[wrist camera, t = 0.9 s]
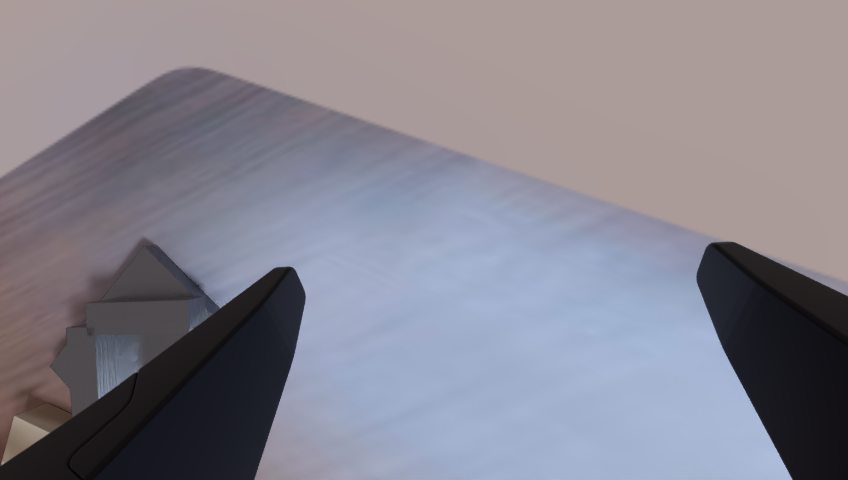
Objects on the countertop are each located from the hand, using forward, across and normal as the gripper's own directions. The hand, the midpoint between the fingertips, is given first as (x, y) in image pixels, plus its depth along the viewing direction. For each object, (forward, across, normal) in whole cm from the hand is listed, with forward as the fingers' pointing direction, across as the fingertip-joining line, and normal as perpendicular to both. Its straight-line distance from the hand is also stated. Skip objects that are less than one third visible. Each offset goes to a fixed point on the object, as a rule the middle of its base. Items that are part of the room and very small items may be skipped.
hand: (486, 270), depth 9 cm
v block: (+8, +22, +14) cm, 27 cm away
